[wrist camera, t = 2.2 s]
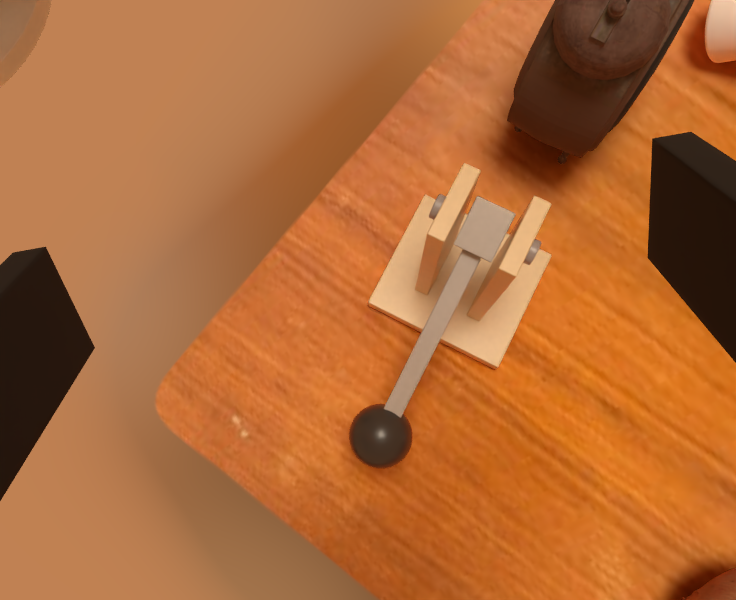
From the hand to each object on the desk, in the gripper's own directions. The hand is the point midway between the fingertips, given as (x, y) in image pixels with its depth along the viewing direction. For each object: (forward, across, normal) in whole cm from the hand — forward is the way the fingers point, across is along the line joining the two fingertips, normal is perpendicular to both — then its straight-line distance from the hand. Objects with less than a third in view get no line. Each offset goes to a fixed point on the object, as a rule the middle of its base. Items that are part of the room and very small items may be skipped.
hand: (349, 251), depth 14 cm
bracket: (+28, +4, -17) cm, 33 cm away
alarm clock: (+37, +15, -9) cm, 41 cm away
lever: (+19, +2, -15) cm, 24 cm away
